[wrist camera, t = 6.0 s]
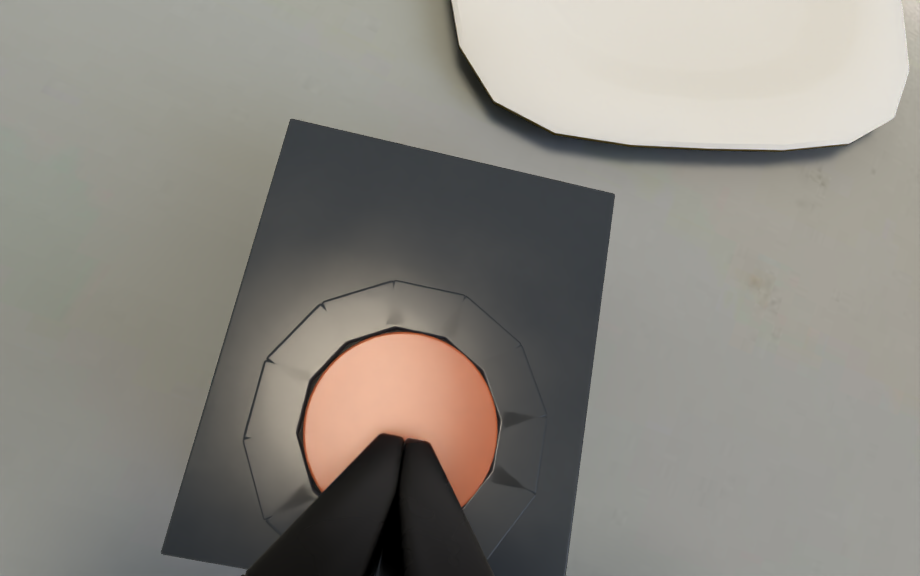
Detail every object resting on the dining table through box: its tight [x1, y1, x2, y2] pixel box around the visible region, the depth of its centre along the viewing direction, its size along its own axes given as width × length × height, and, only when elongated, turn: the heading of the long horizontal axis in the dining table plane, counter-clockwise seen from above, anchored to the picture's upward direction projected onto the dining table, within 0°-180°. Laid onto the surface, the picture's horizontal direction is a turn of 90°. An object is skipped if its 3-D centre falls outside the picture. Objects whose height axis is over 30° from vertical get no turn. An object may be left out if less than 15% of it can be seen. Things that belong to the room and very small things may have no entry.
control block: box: [161, 119, 615, 576], centre depth 17 cm, size 12×10×8 cm
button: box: [303, 332, 498, 507], centre depth 13 cm, size 4×4×2 cm
